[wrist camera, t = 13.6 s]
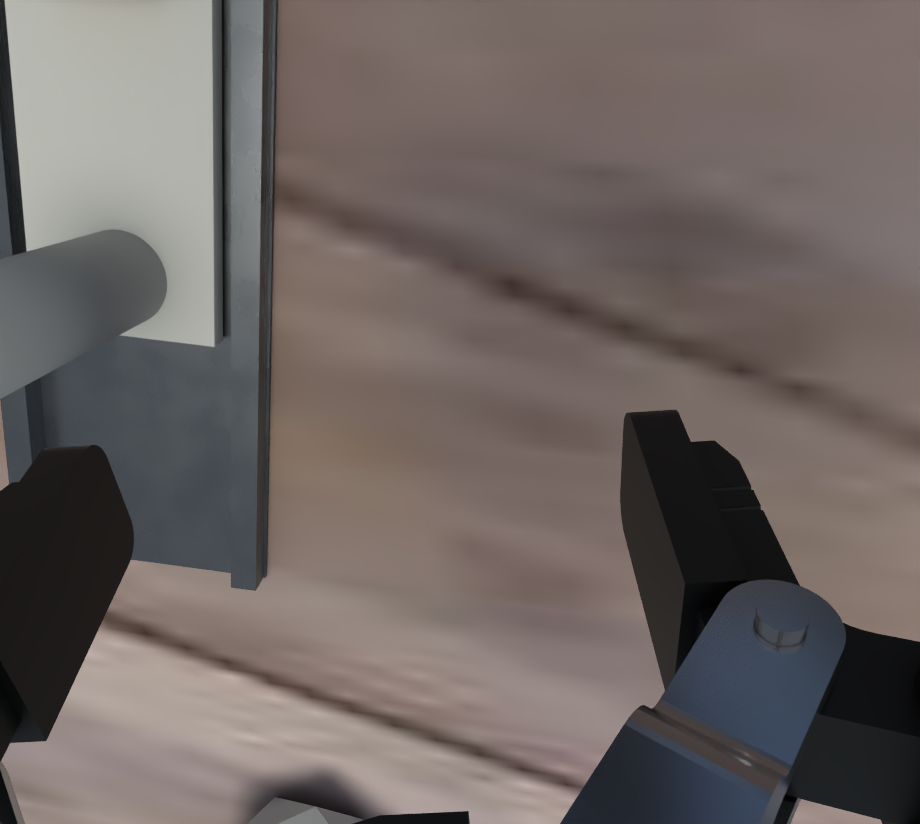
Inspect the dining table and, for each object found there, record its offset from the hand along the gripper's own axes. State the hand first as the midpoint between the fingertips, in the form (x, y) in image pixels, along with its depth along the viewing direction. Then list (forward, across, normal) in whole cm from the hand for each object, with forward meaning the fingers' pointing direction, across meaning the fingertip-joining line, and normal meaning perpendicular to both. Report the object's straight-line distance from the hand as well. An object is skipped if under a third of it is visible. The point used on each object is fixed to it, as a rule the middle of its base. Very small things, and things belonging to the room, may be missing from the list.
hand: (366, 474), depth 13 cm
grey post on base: (+25, +11, -2) cm, 27 cm away
